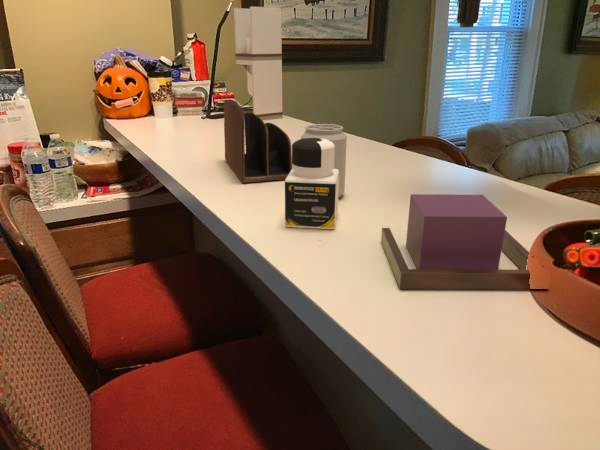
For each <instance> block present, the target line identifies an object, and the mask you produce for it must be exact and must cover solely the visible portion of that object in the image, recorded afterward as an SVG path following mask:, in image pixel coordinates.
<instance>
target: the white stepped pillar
mask: <svg viewBox="0 0 600 450" xmlns="http://www.w3.org/2000/svg"><path fill="white" fill-rule="evenodd" d="M233 24H234V25H233V26H234V49H235V64H236V65H243V66H244V65H245V66H246V76H247V77H246V85H247V93H248V95H250V96H251V97H252V109H249V110H243V113H244V115H245V113H248V112H251V113H254V114H255V115H257V116H258V117H259V118H260V119H261V120H262V121H269V120H276V119H283V51H282V50H283V48H282V47H283V46H282V44H283V42H282V41H283V40H282V37H283V36H282V7H271V6H270V7H269V6H249V8H244V7H243V8H241V7H233Z"/></svg>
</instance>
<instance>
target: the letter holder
mask: <svg viewBox="0 0 600 450" xmlns="http://www.w3.org/2000/svg"><path fill="white" fill-rule="evenodd" d="M243 111H244V110H243V109H242V107H241V105H239V103H238V102H236V101H235V100H234V99H229V98H228V99H224V101H223V112H224V113H223V133H224V134H223V135H224V160H225V161H226V162H227V164H228V165H229V167H231V169H232V171H233V172H234V174H235V175H236V176H237V178H238V179H239V180H240V182H241V183H242V185H245V184H251V183H263V182H274V181H285V179H286V178H287V176H288V175H289V173H290V171H291V170H292V141H291V138H290V137H289V134H287V133H286V132H285V131H284V130H283V129H282V128H280V127H279V126H278V125H277V124H274V123H272V122H264V120H261V119H260V118H259V117H258V116H257V115H255V114H254V113H251V112H248V113H245V115H244V113H243Z"/></svg>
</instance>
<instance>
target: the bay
mask: <svg viewBox="0 0 600 450" xmlns="http://www.w3.org/2000/svg"><path fill="white" fill-rule="evenodd" d="M381 242H382V243H381ZM380 243H381V245H382V247H383V250H384V253H385V255H386V258H387V260H388V263H389V265H390V268H391V271H392V273H393V276H394V279H395V281H396V284H397V286H398V289H399V290H431V291H432V290H437V291H440V290H443V291H444V290H446V291H447V290H448V291H450V290H451V291H452V290H453V291H455V290H456V291H457V290H459V291H460V290H461V291H463V290H465V291H466V290H467V291H468V290H470V291H471V290H472V291H473V290H474V291H475V290H476V291H478V290H479V291H481V290H482V291H531V290H530V284H529V279H530V272H529V270H526V265H527V259H528V255H529V253H530V252H529V250H527V248H526V247H524V246H523V245H522V244H521V243H520V242H519V241H518V240H517V239H516V238H514V237H513V236H512V234H510V233H509V232H508V231H507V230H506V229H505V233H504V238H503V244H502V250H501V252H503V253H504V254H505V255H506V256H507V258H509V259H510V260H511V262H512V263H513V264H514V265H515V266H516V267H517V268H518V269H498V270H489V269H417V268H409V267H408V265H407V263H406V260H405V259H404V256H403V254H402V252H401V250H400V247H399V245H398V243H397V241H396V239H395V237H394V234H393V232H392V230H391V228H390V227H381V235H380Z"/></svg>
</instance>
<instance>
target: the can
mask: <svg viewBox="0 0 600 450" xmlns="http://www.w3.org/2000/svg"><path fill="white" fill-rule="evenodd" d="M304 129H305V131H304V132H303V133H302V135H301V136H300V139H304V138H322V139H327V140H329V141H331V142H333V144H334V145H335V155H334V169H338V170H339V191H338V199H339V198H340V197H341V196H342V195H343V194H345V191H346V167H347V166H346V165H347V164H346V163H347V141H348V140H347V137H348V136H347V135H346V134H345V133H344V131H343V129H344V126H342V125H339V124H334V123H315V124H314V123H313V124H307V125H305V127H304Z"/></svg>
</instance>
